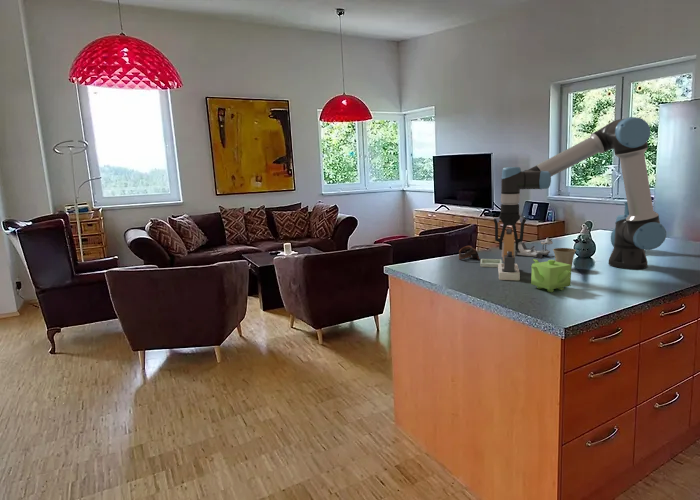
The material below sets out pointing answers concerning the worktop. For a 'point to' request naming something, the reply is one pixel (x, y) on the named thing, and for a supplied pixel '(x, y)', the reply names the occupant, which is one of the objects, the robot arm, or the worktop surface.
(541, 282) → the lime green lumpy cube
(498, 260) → the tray
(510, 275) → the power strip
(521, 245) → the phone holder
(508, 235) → the plug
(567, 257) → the flower pot
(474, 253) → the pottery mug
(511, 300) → the worktop surface
